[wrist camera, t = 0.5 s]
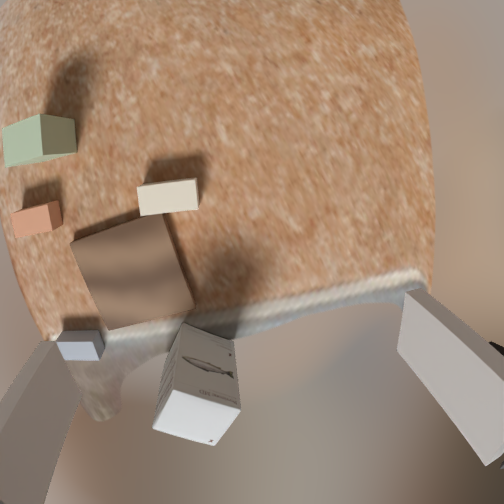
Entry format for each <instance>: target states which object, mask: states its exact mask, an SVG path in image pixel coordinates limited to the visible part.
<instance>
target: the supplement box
mask: <svg viewBox="0 0 504 504" xmlns="http://www.w3.org/2000/svg"><path fill="white" fill-rule="evenodd" d="M240 411H241V404H240V395H239V387H238V377H237V368H236V359H235V351H234V342H233V341H230V340H227V339H224V338H221V337H218V336H215V335H212V334H210V333H207V332H205V331H202V330H200V329H197V328H195V327H193V326H190V325H188V324H186V323H182V325H181V328H180V330H179V332H178V334H177V336H176V339H175V341H174V343H173V345H172V347H171V349H170V352H169V354H168V356H167V358H166V361H165V364H164V369H163V374H162V379H161V384H160V388H159V394H158V400H157V405H156V411H155V416H154V421H153V425H152V428H153V429H155V430H158V431H161V432H165V433H168V434H171V435H175V436H178V437H182V438H185V439H189V440H193V441H197V442H201V443H205V444H209V445H212V446H215V445H216V443H217V442H218V441H219V439H220V438H221V437H222V435H223V434H224V433H225V431H226V430H227V429H228V428H229V426H230V425H231V424H232V422H233V421H234V419H235V418H236V417H237V415H238V414H239V412H240Z"/></svg>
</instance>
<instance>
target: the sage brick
mask: <svg viewBox="0 0 504 504" xmlns="http://www.w3.org/2000/svg"><path fill="white" fill-rule="evenodd" d="M2 135H3V150H4V161H5V168H6V167H12V166H18V165H25V164H31V163H39V162H44V161H48V160H51V159H55V158H59V157H62V156H66V155H70V154H74V153H77V146H76V134H75V121H74V119H70V118H64V117H58V116H52V115H46V114H37V115H35V116H32V117H29V118H27V119H24V120H22V121H19V122H17V123H14V124H12V125H9V126H7V127H4V128H2Z"/></svg>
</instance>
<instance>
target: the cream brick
mask: <svg viewBox="0 0 504 504" xmlns="http://www.w3.org/2000/svg"><path fill="white" fill-rule="evenodd" d="M137 193H138V201H139V208H140V215H141V216H145V215H153V214H161V213H169V212H178V211H187V210H196V209H198V208H199V205H200V204H199V195H198V184H197V177H196V178H187V179H178V180H170V181H162V182H155V183H147V184H142V185H140V186H138V187H137Z"/></svg>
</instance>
